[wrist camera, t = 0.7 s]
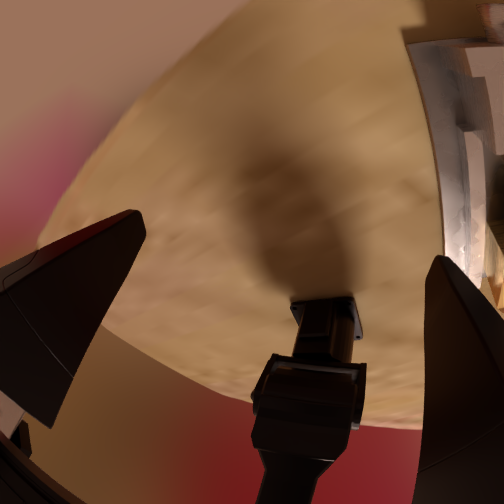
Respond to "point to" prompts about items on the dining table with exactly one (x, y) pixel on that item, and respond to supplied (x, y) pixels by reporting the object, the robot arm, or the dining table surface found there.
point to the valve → (495, 260)
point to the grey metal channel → (466, 133)
